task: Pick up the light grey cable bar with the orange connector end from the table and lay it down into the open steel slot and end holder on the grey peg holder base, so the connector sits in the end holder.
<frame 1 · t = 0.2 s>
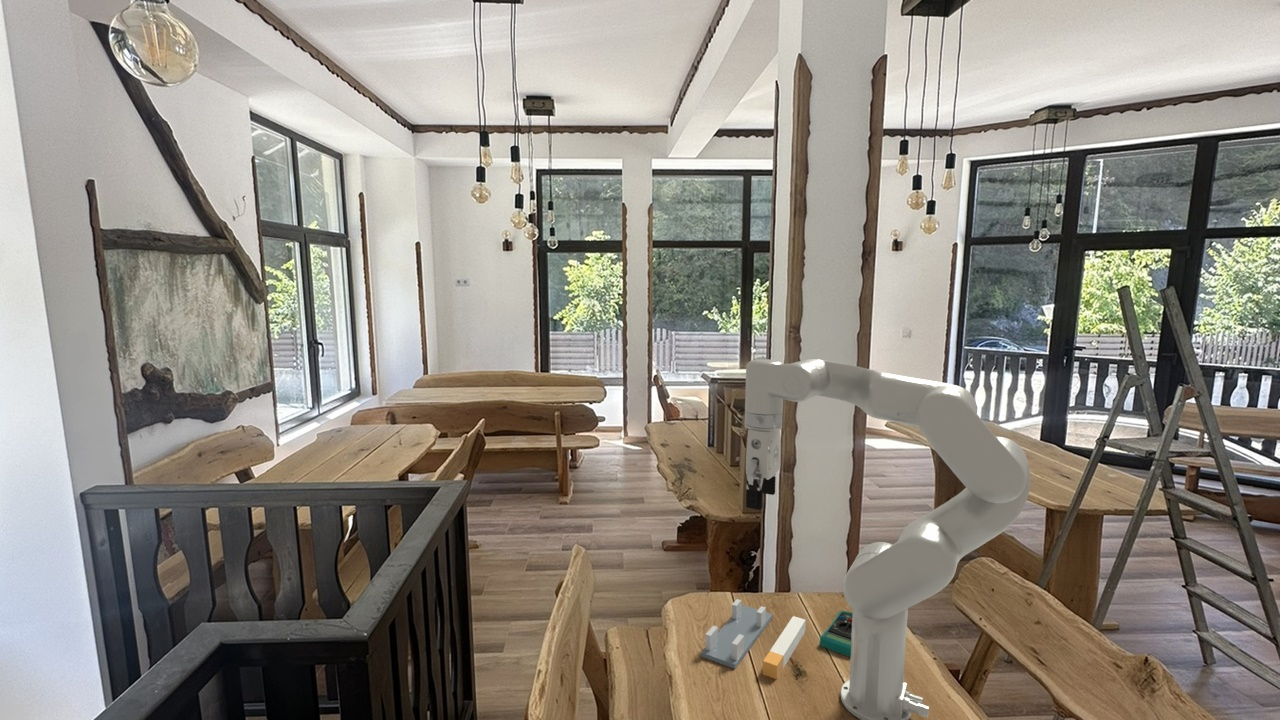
hand: (761, 500, 121), 36 cm above the table, tool pointing down, fingers open, 9 cm apart
digital multimeter: (845, 639, 134), on the table
grey peg holder base: (738, 636, 135), on the table
cable bar: (785, 651, 129), on the table
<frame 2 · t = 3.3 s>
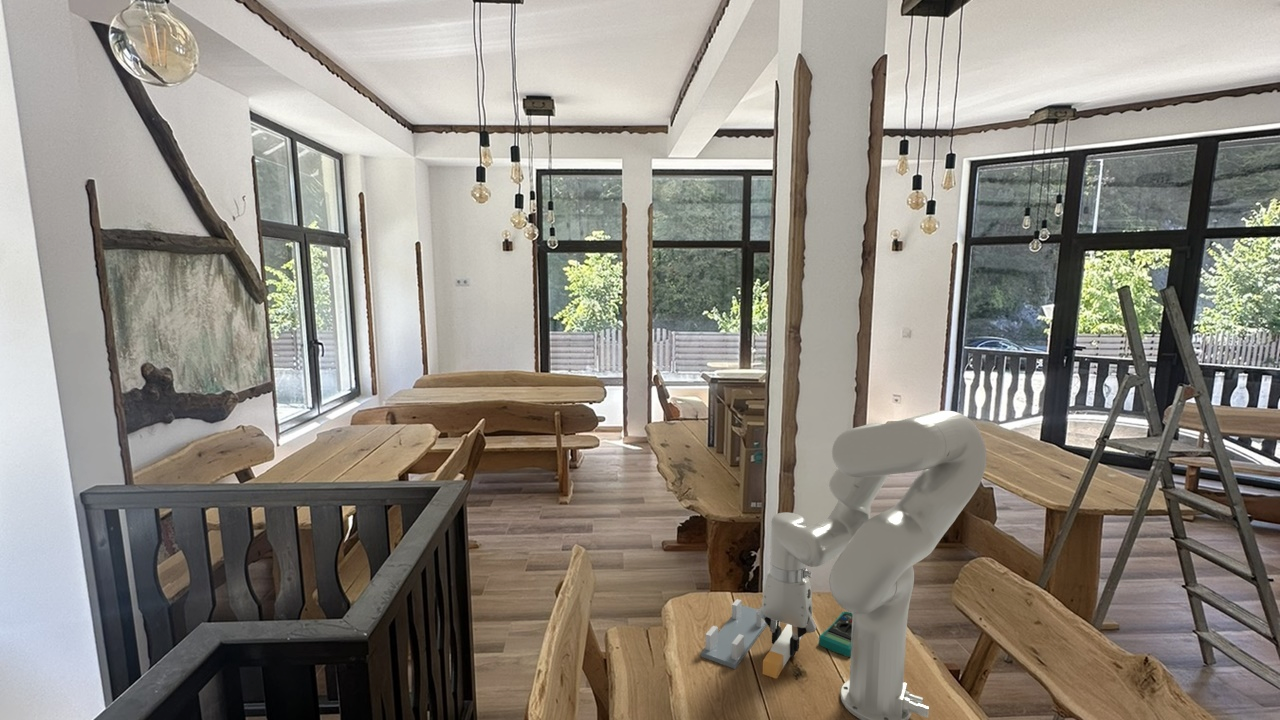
hand: (785, 649, 129), 1 cm above the table, tool pointing down, fingers closed on cable bar, 3 cm apart
cable bar: (785, 651, 129), on the table, touching gripper
everything else where it was.
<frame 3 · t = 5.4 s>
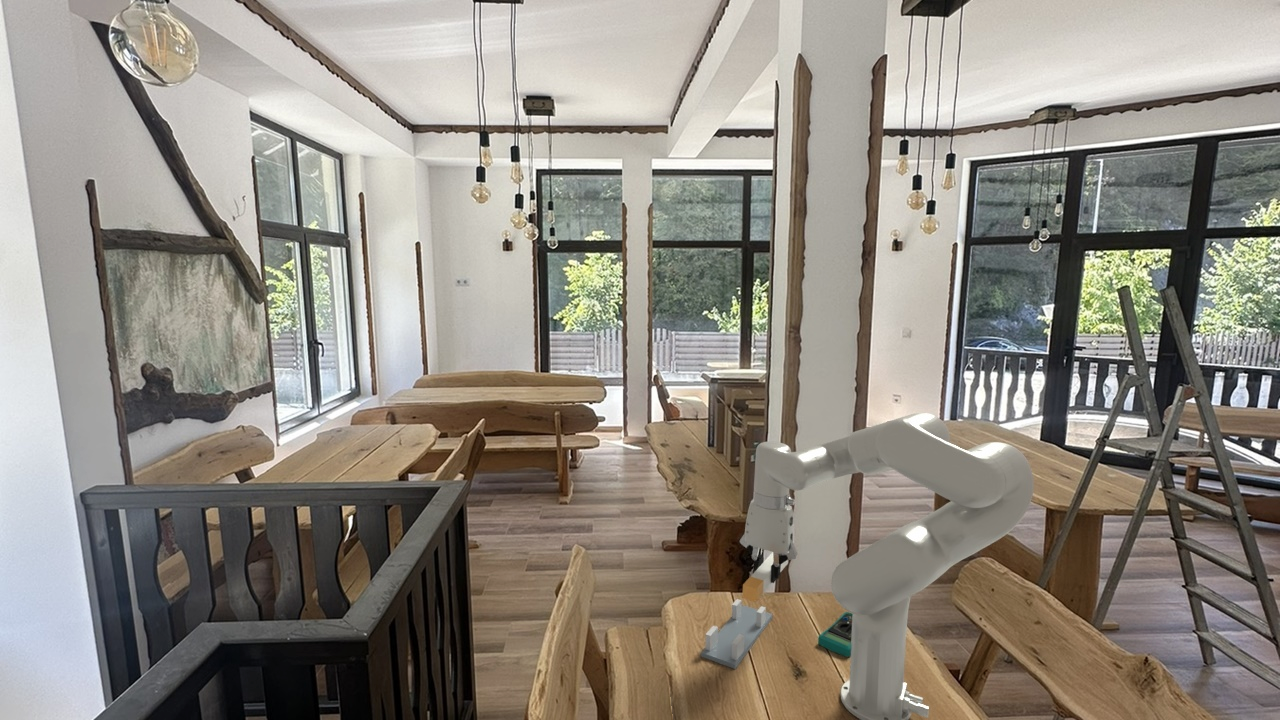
hand: (766, 577, 130), 16 cm above the table, tool pointing down, fingers closed on cable bar, 3 cm apart
cable bar: (766, 579, 130), point 15 cm above the table, touching gripper
everything else where it was.
when the fingers open (3 cm above the table, at t = 7.7 s): cable bar drops 1 cm, resting on grey peg holder base.
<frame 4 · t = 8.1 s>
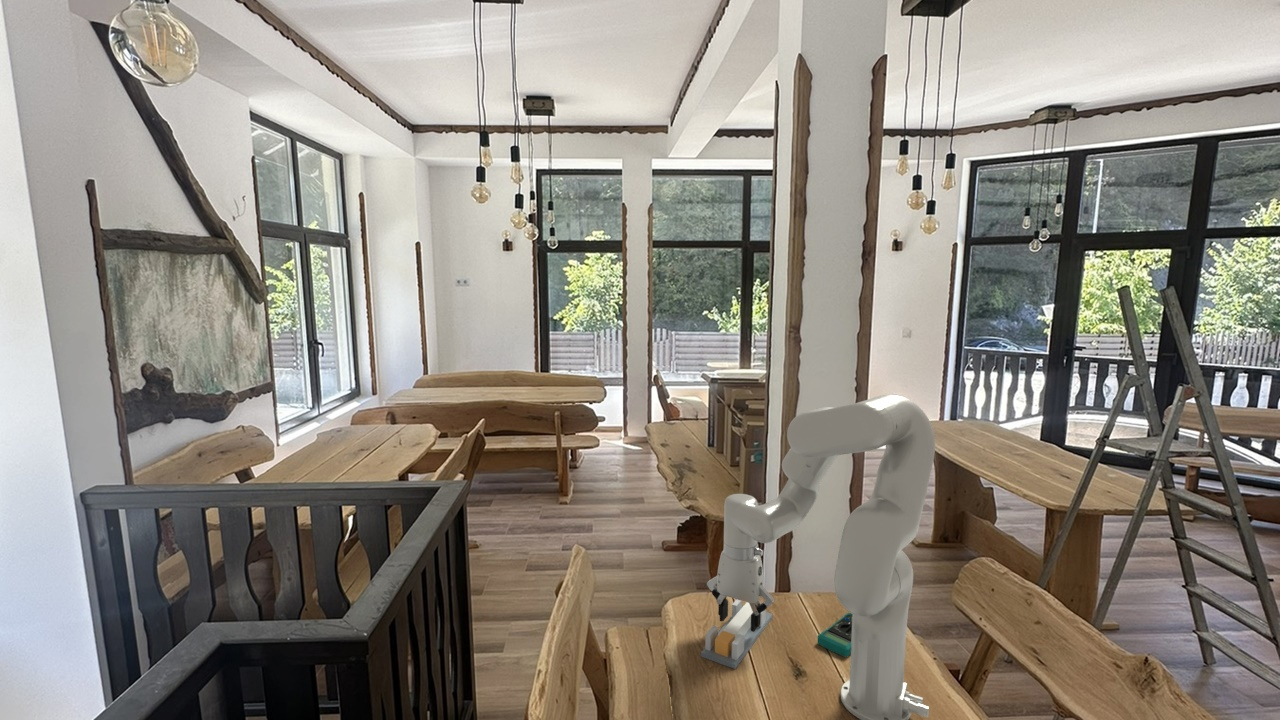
hand: (739, 622, 134), 3 cm above the table, tool pointing down, fingers open, 7 cm apart
cable bar: (739, 632, 134), point 1 cm above the table, touching grey peg holder base
everything else where it was.
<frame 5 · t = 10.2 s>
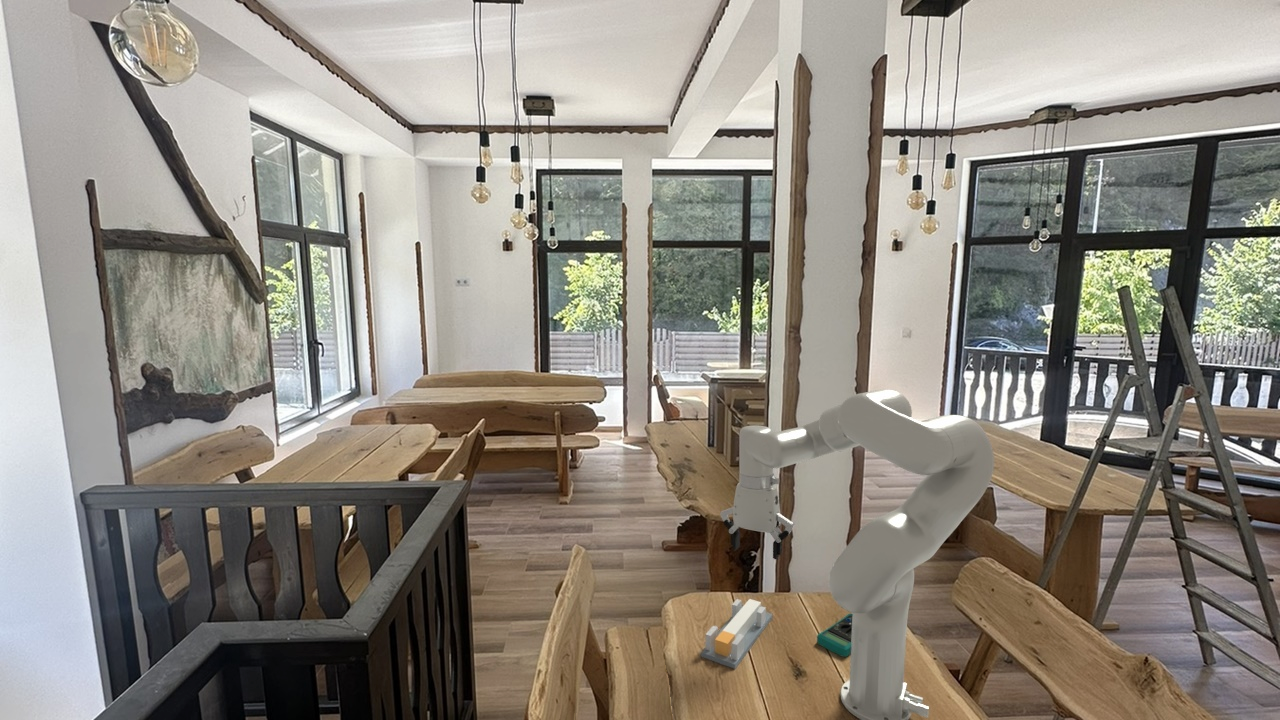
hand: (756, 552, 134), 19 cm above the table, tool pointing down, fingers open, 9 cm apart
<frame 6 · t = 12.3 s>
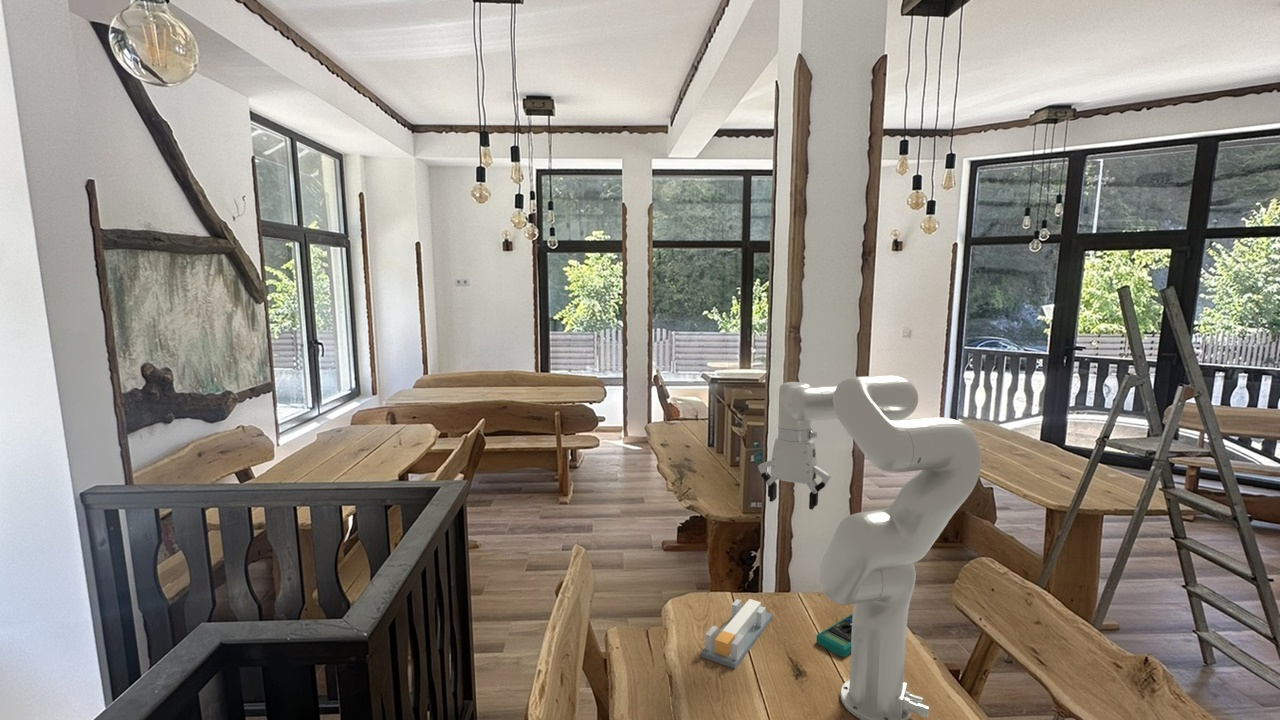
hand: (792, 503, 140), 28 cm above the table, tool pointing down, fingers open, 9 cm apart
at the end: cable bar 0.1 cm from the target spot, point 1.0 cm above the table; cable bar tilted 0°; the gripper is holding nothing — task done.
